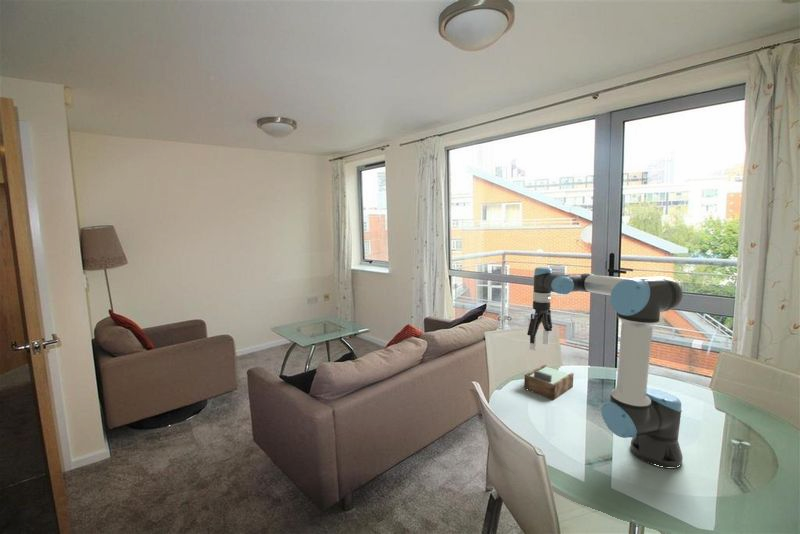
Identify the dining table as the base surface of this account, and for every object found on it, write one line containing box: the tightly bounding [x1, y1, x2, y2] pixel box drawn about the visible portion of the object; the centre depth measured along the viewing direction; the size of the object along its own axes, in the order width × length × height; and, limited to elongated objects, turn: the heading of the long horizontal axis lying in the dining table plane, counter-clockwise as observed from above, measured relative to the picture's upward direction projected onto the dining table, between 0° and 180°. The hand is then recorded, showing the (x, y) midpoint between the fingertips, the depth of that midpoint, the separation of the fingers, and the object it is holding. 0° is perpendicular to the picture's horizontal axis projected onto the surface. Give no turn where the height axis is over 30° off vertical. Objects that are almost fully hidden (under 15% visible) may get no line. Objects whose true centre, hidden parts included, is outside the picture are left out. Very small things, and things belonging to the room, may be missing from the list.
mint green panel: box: [530, 366, 570, 384], centre depth 179 cm, size 17×12×4 cm
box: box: [523, 363, 575, 401], centre depth 179 cm, size 20×15×7 cm
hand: (539, 346), depth 169 cm, fingers open, 11 cm apart
